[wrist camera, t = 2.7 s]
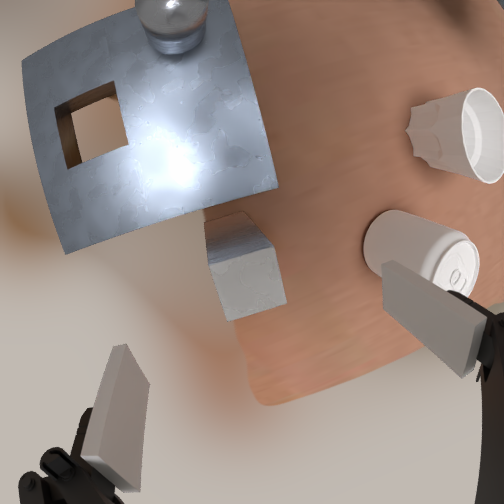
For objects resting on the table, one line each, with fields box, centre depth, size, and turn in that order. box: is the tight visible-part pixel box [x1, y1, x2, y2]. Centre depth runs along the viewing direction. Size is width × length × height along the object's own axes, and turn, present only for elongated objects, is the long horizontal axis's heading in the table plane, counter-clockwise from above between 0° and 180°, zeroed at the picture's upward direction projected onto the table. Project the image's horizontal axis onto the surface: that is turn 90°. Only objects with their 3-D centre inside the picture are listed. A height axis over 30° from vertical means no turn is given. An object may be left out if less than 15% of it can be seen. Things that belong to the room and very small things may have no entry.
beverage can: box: [363, 210, 479, 298], centre depth 27 cm, size 8×8×12 cm
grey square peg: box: [204, 211, 287, 322], centre depth 24 cm, size 4×4×12 cm
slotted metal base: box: [22, 0, 279, 254], centre depth 19 cm, size 20×20×10 cm
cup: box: [405, 88, 504, 184], centre depth 25 cm, size 10×10×10 cm
